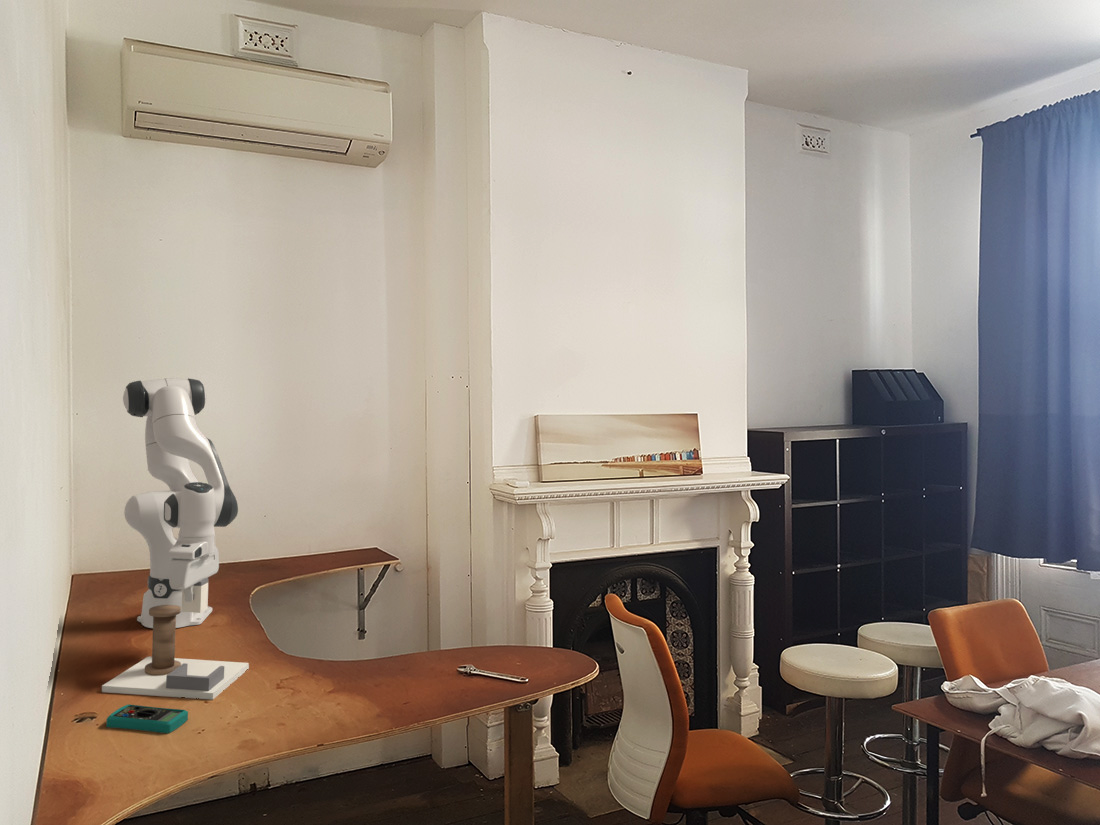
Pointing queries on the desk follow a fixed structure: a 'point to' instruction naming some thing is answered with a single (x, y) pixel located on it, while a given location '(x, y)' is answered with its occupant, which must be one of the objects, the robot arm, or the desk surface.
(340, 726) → the desk surface
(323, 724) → the desk surface
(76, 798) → the desk surface
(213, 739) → the desk surface
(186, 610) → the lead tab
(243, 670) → the board
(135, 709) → the digital multimeter
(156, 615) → the bobbin
